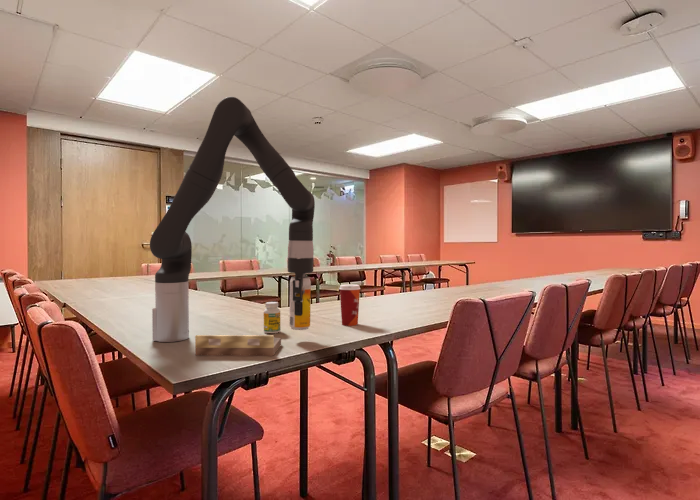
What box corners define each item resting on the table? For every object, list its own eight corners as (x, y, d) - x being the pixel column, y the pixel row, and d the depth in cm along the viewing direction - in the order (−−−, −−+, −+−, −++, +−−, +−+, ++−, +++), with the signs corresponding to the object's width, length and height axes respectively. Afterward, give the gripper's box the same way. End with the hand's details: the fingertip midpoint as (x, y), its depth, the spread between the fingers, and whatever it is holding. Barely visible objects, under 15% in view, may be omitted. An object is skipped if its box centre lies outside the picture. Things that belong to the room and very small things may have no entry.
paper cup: (360, 326, 142) (360, 286, 142) (338, 326, 142) (338, 286, 142) (360, 322, 150) (360, 283, 149) (339, 322, 150) (339, 283, 150)
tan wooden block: (195, 355, 105) (195, 336, 105) (210, 344, 116) (210, 327, 116) (273, 355, 105) (272, 336, 105) (281, 345, 116) (280, 327, 116)
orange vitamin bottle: (314, 328, 121) (315, 277, 121) (298, 331, 117) (299, 278, 116) (301, 325, 125) (301, 276, 125) (285, 328, 121) (285, 277, 121)
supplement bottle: (276, 329, 137) (276, 301, 137) (283, 332, 132) (283, 302, 132) (261, 331, 134) (261, 302, 134) (267, 334, 129) (267, 304, 129)
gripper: (291, 255, 128) (291, 309, 128) (283, 257, 114) (283, 317, 114) (315, 255, 128) (315, 309, 128) (310, 257, 113) (310, 318, 114)
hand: (300, 313), depth 121 cm, fingers closed on orange vitamin bottle, 6 cm apart
